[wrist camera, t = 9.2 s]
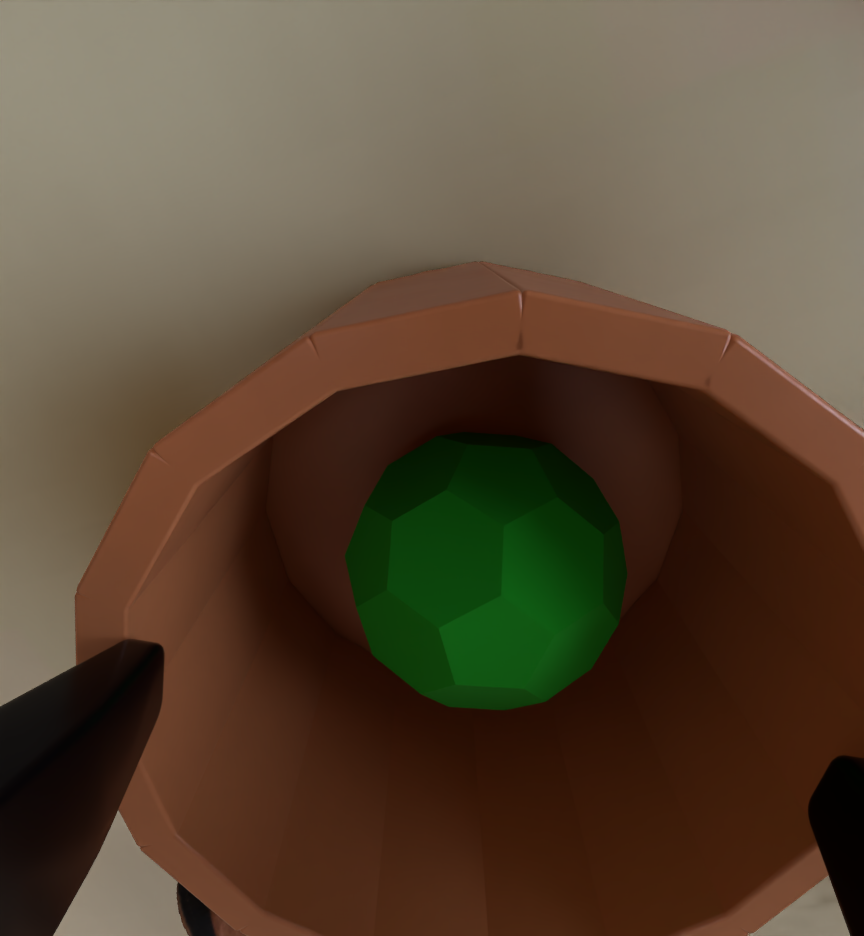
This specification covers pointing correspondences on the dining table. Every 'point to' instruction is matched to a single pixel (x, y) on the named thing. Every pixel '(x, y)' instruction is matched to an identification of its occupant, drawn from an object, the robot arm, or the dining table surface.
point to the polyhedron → (487, 570)
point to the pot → (484, 730)
